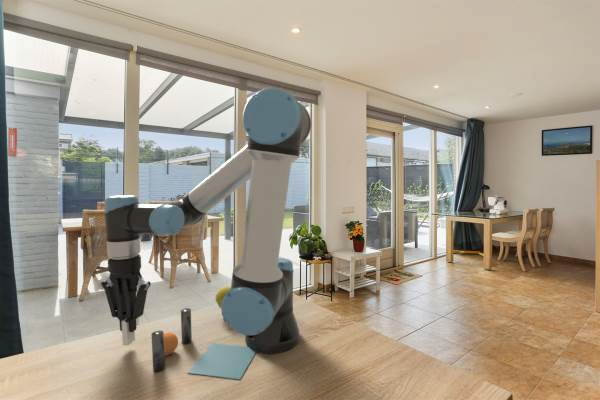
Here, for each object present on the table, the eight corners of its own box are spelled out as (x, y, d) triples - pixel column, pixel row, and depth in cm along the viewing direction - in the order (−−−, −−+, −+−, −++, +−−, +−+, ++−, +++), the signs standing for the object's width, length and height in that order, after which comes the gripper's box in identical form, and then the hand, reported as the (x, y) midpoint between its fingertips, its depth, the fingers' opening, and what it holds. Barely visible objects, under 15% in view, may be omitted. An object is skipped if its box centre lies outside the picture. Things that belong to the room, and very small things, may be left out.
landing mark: (257, 348, 85) (257, 347, 85) (240, 379, 72) (240, 379, 72) (212, 343, 87) (212, 343, 87) (187, 373, 75) (187, 372, 75)
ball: (181, 328, 84) (162, 327, 86) (168, 339, 79) (149, 338, 80) (183, 348, 85) (164, 347, 86) (171, 360, 80) (151, 359, 81)
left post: (167, 366, 77) (165, 331, 76) (160, 373, 75) (159, 336, 74) (157, 365, 78) (155, 330, 77) (150, 372, 75) (149, 335, 74)
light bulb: (232, 323, 99) (231, 292, 98) (212, 321, 100) (211, 290, 100) (240, 313, 106) (239, 284, 105) (221, 312, 107) (220, 283, 106)
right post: (193, 339, 90) (192, 308, 89) (188, 344, 87) (187, 312, 86) (185, 338, 90) (184, 307, 89) (180, 343, 88) (178, 311, 87)
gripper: (156, 252, 85) (159, 337, 87) (113, 250, 87) (117, 333, 89) (137, 260, 78) (141, 353, 80) (90, 258, 80) (96, 347, 82)
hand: (129, 342), depth 85 cm, fingers closed
